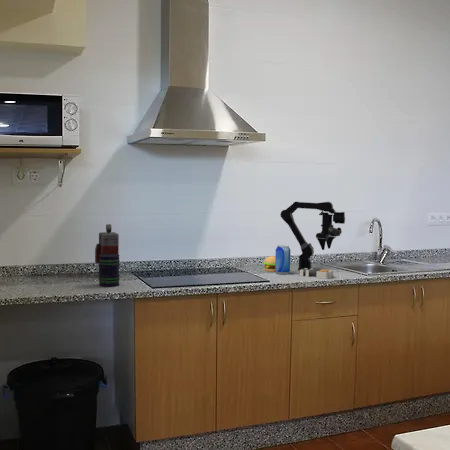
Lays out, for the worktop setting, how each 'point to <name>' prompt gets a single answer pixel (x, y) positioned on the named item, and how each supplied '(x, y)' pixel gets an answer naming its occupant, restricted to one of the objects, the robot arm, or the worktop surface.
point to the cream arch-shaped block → (324, 274)
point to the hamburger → (270, 264)
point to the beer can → (282, 260)
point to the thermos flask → (107, 243)
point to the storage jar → (109, 270)
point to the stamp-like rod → (313, 271)
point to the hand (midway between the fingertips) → (326, 249)
